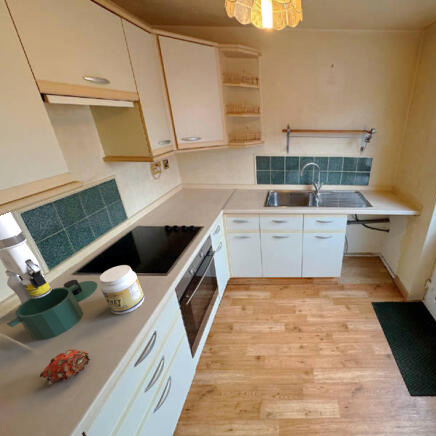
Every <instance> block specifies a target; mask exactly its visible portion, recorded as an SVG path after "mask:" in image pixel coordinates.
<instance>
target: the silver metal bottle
mask: <svg viewBox="0 0 436 436" xmlns="http://www.w3.org/2000/svg"><path fill="white" fill-rule="evenodd" d="M4 273H5V275H6V276H7V277H8V278H7V281H6V285H7V287H9V289H11V290H12V291H13V292H14V293H15V295H16V296H17V297H18V299H19V301H20V303H21V305H22V304H23V303H24V302H25V301H27V300H28V299H30V298H32V297H31V296H30V295H29V293H28V292H27V290H26V289H25V287H24V286H23V284H22V281H21V279H20V278H19V275H17V273H14V272H11V271H9V270H7V269H6V270H5V272H4Z"/></svg>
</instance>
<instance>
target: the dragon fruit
mask: <svg viewBox="0 0 436 436" xmlns="http://www.w3.org/2000/svg"><path fill="white" fill-rule="evenodd" d="M90 361H91V359H90V357H89V351H86V350H83V349H78V350H77V349H67V350H66V351H65V352H60V353H59V354H57V355H56V356H55V357H53V358H51V359H50V362H49V363H48V365H47V366H46V367H45V368H44V369H43V370H42V371H41V372H40V374H39V377H40V378H43V379H46V381H48V382H47V384H48V385H49V386H53V384H54V383H55V382H57V381H58V380H60V379H61V378H62V381H63V382H65V381H68V380H69V379H72V378H73V377H74V375H77V374H78V373H80V372H82V371H83V370H84V369H85V366H87V365H88V364H89V363H90Z"/></svg>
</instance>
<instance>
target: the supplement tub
mask: <svg viewBox="0 0 436 436" xmlns="http://www.w3.org/2000/svg"><path fill="white" fill-rule="evenodd" d="M99 281H100V286H99V287H100V291H101V292H102V295H103V297H104V299H105V301H106V303H107V305H108V307H109V310H110V311H111V312H112V313H113V314H115V315H125V314H128V313H131V312H133V311H135V310H137V309H138V308H139V307H140V306H141V305H142V304H143V303H144V301H145V294H144V291H143V288H142V286H141V284H140V281H139V278H138V275H137V273H136V272H135V271H133V269H132V268H131V266H130V265H127V264H122V265H117V266H114V267H111V268H109V269H107V270H105V271H104V272H103V273H101V274H100V276H99Z"/></svg>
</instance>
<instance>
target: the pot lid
mask: <svg viewBox="0 0 436 436" xmlns="http://www.w3.org/2000/svg"><path fill="white" fill-rule="evenodd" d="M74 284H75V285H78V286H79V288H77V289H75V290H74V291H72V293H73V295H74V296H75V298H76V300H77V302H78V303H80V302H82V301H84V300H86V299H87V298H88V297H90V296H91V295H93V294H94V293H95V292H96V291H97V289H98V286H99V285H98V283H97V282H96V281H93V280H85V281H81V282H80V281H78V279H71V280H68V281H66V282H65V283H64V284H63V287H66V288H69V287H71V286H72V285H74Z"/></svg>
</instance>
